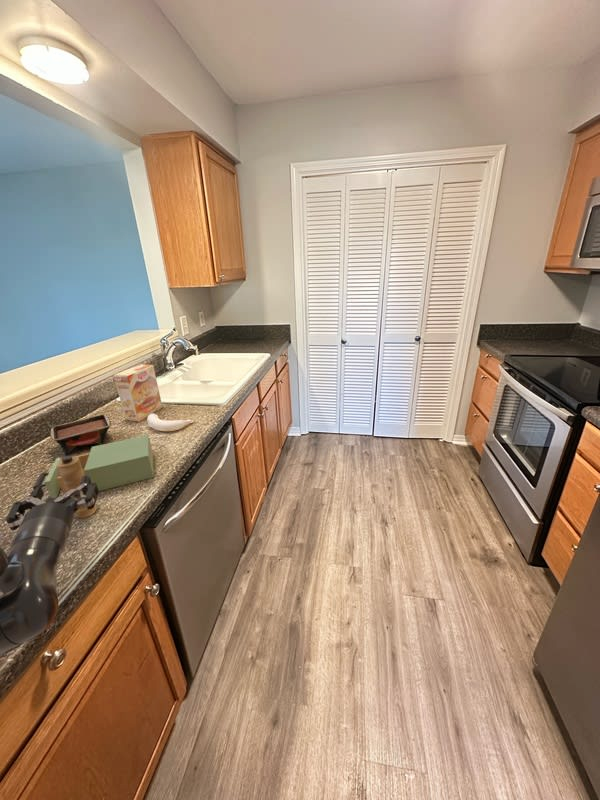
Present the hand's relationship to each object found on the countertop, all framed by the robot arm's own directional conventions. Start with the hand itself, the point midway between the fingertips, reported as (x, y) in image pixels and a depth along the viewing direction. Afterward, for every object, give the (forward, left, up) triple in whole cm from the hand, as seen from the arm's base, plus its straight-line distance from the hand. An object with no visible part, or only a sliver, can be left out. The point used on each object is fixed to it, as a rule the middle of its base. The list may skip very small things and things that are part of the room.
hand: (63, 484), depth 71 cm
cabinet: (+8, +22, -13) cm, 27 cm away
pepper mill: (0, +7, -13) cm, 15 cm away
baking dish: (-6, +49, -13) cm, 51 cm away
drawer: (-4, +22, -12) cm, 25 cm away
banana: (+22, +51, -13) cm, 57 cm away
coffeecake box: (+13, +67, -13) cm, 69 cm away
